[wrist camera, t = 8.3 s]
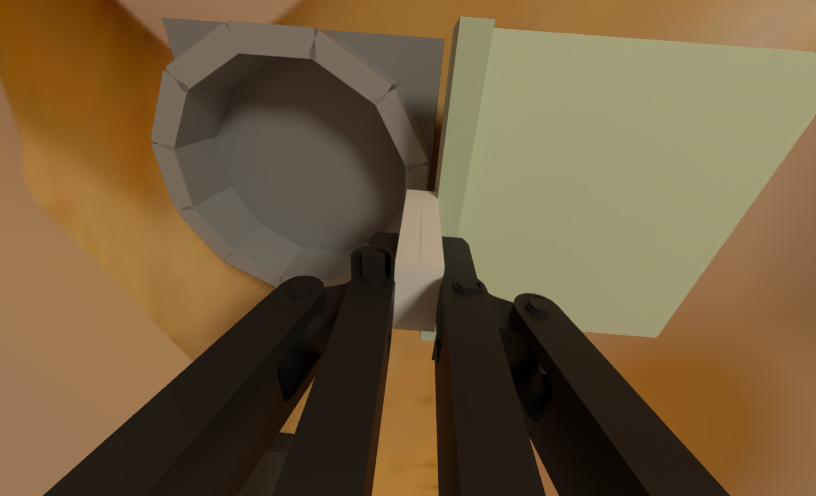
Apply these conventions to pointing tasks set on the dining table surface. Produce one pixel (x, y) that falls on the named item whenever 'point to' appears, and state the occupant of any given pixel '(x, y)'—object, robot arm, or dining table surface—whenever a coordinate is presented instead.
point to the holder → (294, 140)
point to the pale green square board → (608, 162)
